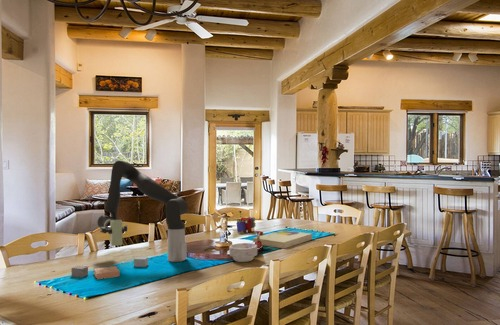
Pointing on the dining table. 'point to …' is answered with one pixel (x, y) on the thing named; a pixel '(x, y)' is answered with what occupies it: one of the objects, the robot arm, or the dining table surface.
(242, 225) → the robot toy
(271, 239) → the puzzle box
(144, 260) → the light gray block
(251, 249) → the paper bowls
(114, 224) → the sage tower brick
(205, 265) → the dining table surface
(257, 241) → the toy fire truck
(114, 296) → the dining table surface
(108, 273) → the terracotta base brick
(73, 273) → the grey rectangular block
